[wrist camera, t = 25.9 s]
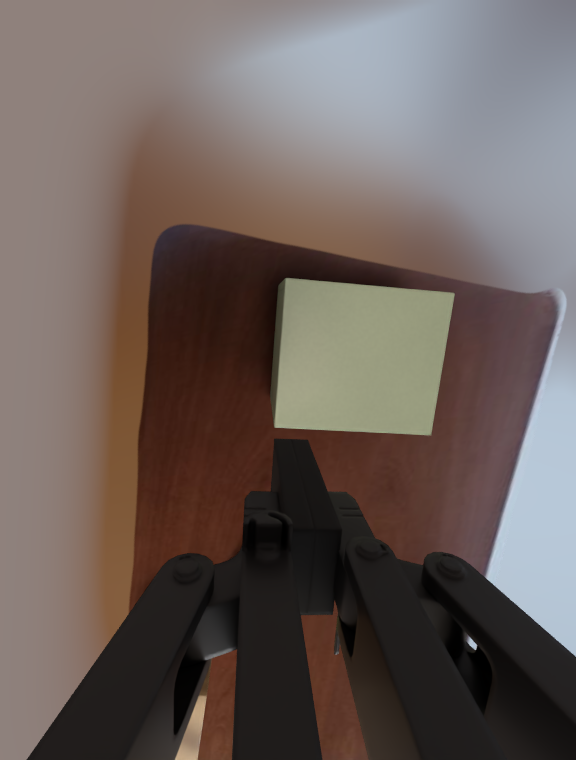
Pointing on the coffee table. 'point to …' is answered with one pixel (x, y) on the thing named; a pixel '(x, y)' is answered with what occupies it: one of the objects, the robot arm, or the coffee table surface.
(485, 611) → the robot arm
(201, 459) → the coffee table surface
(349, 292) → the lid
